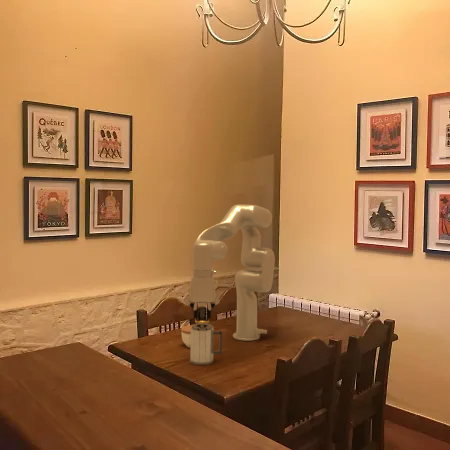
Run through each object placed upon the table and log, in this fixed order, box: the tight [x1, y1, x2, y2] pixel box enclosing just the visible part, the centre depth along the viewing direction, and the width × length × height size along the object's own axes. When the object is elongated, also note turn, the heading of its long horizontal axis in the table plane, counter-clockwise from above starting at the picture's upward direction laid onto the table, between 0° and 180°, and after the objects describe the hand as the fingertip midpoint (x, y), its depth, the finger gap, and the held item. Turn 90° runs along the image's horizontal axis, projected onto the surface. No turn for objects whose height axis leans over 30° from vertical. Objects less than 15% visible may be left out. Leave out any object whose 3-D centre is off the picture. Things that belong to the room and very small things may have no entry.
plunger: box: [194, 305, 210, 327], centre depth 198 cm, size 6×6×20 cm
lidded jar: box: [180, 324, 193, 349], centre depth 220 cm, size 11×11×9 cm
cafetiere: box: [189, 323, 223, 366], centre depth 199 cm, size 13×9×14 cm
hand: (202, 319), depth 198 cm, fingers open, 3 cm apart
